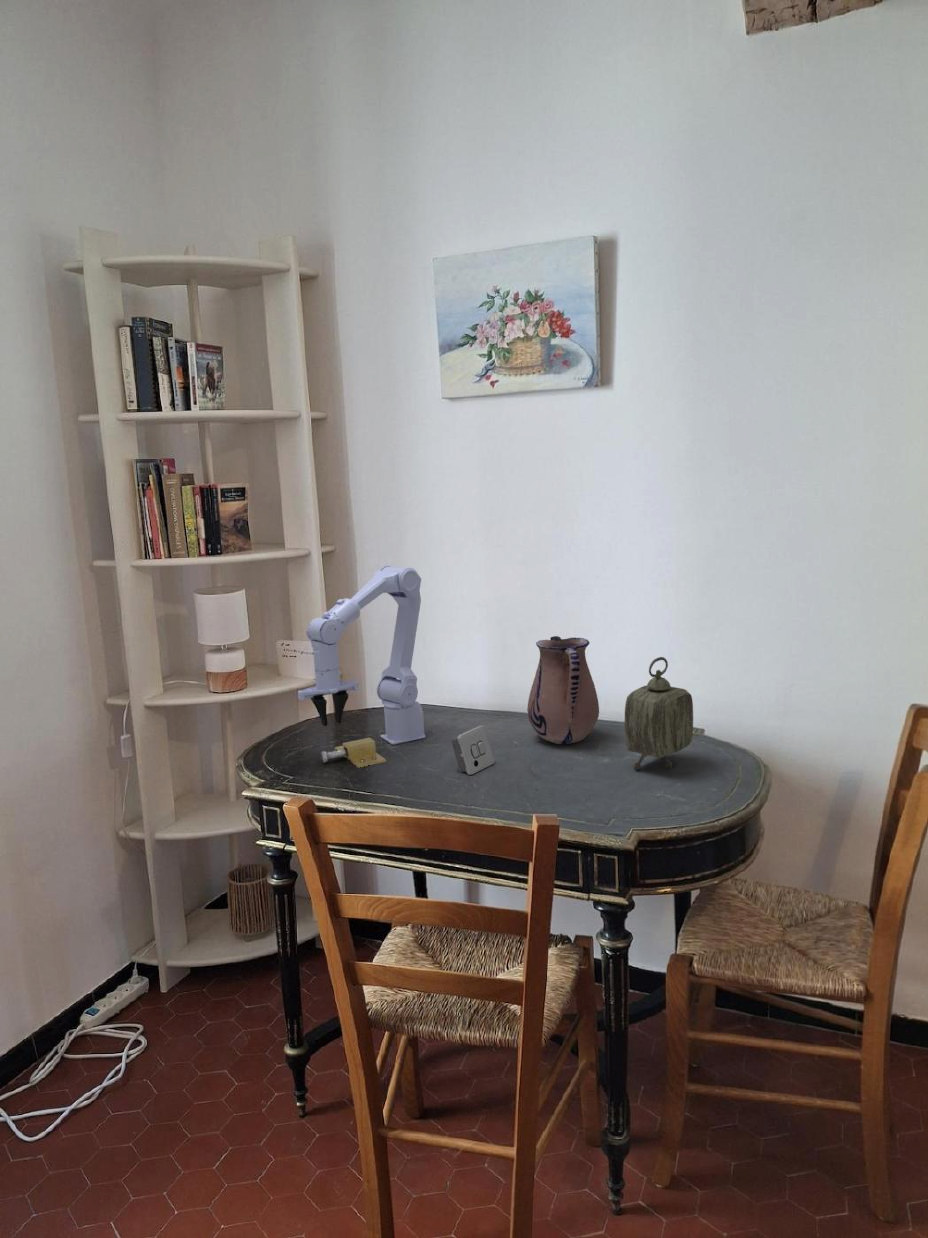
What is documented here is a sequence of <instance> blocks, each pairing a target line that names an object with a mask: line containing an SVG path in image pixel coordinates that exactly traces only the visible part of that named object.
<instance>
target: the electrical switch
mask: <svg viewBox="0 0 928 1238" xmlns="http://www.w3.org/2000/svg"><path fill="white" fill-rule="evenodd" d="M450 741H451V745H452V748H453V751H454V755H455V760H456V762H457V766H458V769H459V772H460V773H467V774H468V776H470V775H474V774H476V773H478V772H479V771H482V770H484V769H486V768H488V767H491V765H494V764H495V757H494V753H493V750H492V746H491V743H490V739H489V736H488V733H487V730H486V726H484V725H479V726H476V727H474V728H472V729H470V730H467V731H466V732H464V733H463V732H462V733H461V734H458V735H457V737H454V738H452V739H451V740H450Z"/></svg>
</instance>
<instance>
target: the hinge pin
mask: <svg viewBox="0 0 928 1238" xmlns="http://www.w3.org/2000/svg"><path fill="white" fill-rule="evenodd" d="M346 755H348V751H347V749H343V750H338V751H336V750H333V751H329V752H327V751H326V750H325V751H324V750H323V751H321V759H322V761H323V763H327V762H329V760H331V759H337V758H341V757H344V756H346Z"/></svg>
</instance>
